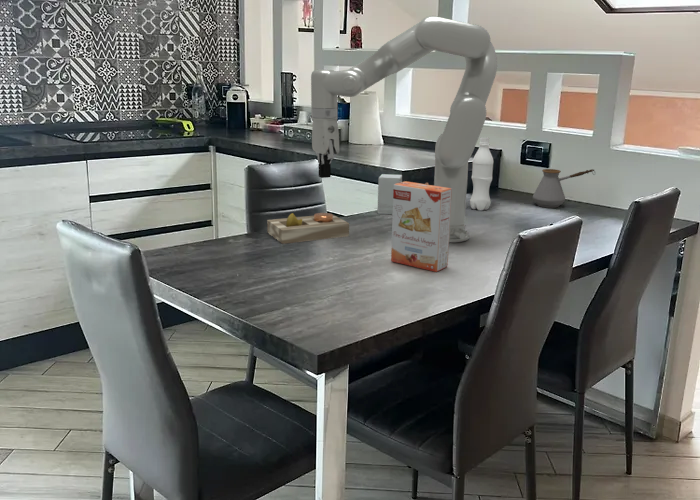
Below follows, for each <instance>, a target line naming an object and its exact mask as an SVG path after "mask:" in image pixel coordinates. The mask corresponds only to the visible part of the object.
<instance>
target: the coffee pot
mask: <svg viewBox="0 0 700 500" xmlns="http://www.w3.org/2000/svg"><path fill="white" fill-rule="evenodd" d="M542 172H543V174H542V175H543V176H542V178H541V180H540V182H539V183H538V186H537V187H536V190H535V191H534V193H533V195H532V200H533V201H534V203H535V204H536V205H537V206H539V207H542V208H551V209H552V208H553V209H554V208H558V207H560V205H562V204H563V203H565V201H566V196H565V193H564V190H563V187H562V183H561V181H564V180H567V179H571V178H576V177H579V176H583V175H585V174H589V173H592V175H593V176H595V173H596V171H595V169H593V168H592V169H589V170H588V169H586V170H584V171H579V172H576V173H573V174H571V175H567V176H563V177H560V176H559V175H560V173H561V170H560V169H554V168H544V169H542ZM559 177H560V178H559Z"/></svg>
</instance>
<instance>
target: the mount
mask: <svg viewBox="0 0 700 500" xmlns="http://www.w3.org/2000/svg"><path fill="white" fill-rule="evenodd" d="M332 215H333V221H332V222H322V223H318V222H316V221H314V215H309V216H306V215H305V216H296V218H297V220H300V219H302V225H301V226H292V227H286V222H287V219H288V217H287V218H286V217H285V218H276V219H275V218H274V219H267V220H266V222H267V223H266V224H267V230H266V233H267V234H268V233H269V234H268V235H269V236H271V237H272V236H273V237H272V238H273V239H275V240H276V239H277V241H278V242H279V243H281V244H282V245H285V244H293V243H294V244H295V243H302V242H311V241H319V240H330V239H337V238H338V239H339V238H346V237H350V223H349V222H347V221H346V220H344V219H342V218H340V217H338V216H336V215H334V214H332Z"/></svg>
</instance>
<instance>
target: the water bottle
mask: <svg viewBox="0 0 700 500" xmlns="http://www.w3.org/2000/svg"><path fill="white" fill-rule="evenodd" d="M478 145H479V146H478V147H479V148H478V149H477V151H476V153H475V154H474V157H473V159H472V171H471V180H472V186H473V190H472V195H471V197H470V199H469V204H470V207H471V209H472V210H477V211H484V210H485V211H487V210H488V209H490V207H491V203H492V202H491V201H492V199H491V198H490V186H491V184H492V181H493V170H494V164H495V163H494V158H493V154H492V153H491V150H490V147H489V146H490V138H489V137H487V136H486V137H484V136H483V137H479V143H478Z"/></svg>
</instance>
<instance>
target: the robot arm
mask: <svg viewBox="0 0 700 500" xmlns="http://www.w3.org/2000/svg"><path fill="white" fill-rule="evenodd" d="M489 33H490V32H488V30H487V29H485V27H483V26H482V25H479V24H478V25H477V24H474V23H468V22H464V21H459V20H454V19H449V18H446V17H442V16H441V17H440V16H436V15H429V16H426V17H424V18H422V19H421V21H419V22H417V23H416V24H414V25H413V26H411V27H409V28H408V29H406V30H405V31H403V32H401V33H400V34H398V35H396V36H394V37H393V38H392V39H389V41H387V42H386V43H384V44H383V45H381V46H380V48H378V49H377V50H376V51H375V52H374V53H373V54H371V55H369V56H367V57H366V58H364V59H363V60H362V61H360V62H358V63H357V64H355V65H353V66H352V67H350V68H349V69H344V70H333V69H316V70H315V69H314V70H313V71H312V72H311V75H310V93H311V94H310V95H311V96H310V97H311V99H310V100H311V102H310V104H311V105H310V106H311V108H310V111H311V113H310V114H311V120H312V126H311V147H312V150H313V151H314V152H315V155H316V156H317V163H318V177H319V178H320V179H326V178H327V179H328V178H331V176H332V175H331V174H332V173H331V172H332V171H331V170H332V169H331V166H332V165H331V164H332V160H334V159H335V155H338V154H339V153H340V133H339V132H340V131H339V124H338V96H340V97H344V98H345V97H347V98H353V97H356V96H358V95H359V94H361V93H362V92H364V91H365V90H367V89H369V88H370V87H372V86H374V85H375V84H377V83H378V82H380V81H382V80H384V79H385V78H387V77H389V76H391V75H394V74H397V73H399V72H400V71H402V70H404V69H405V68H407V67H408V66H410V65H412V64H414V63H415V62H417V61H418V60H421V58H423V57H426V56H427V55H429V54H431V52H433V51H435V52H436V51H437V52H441V53H445V54H449V55H454V56H459V57H464V59H465V70H464V72H463V75H462V79H461V82H460V84H459V87H458V90H457V92H456V95H455V97H454V99H453V101H452V103H451V105H450V109H449V116H448V119H447V120H446V121H447V122H446V124H445V127H444V129H443V132H442V133H440V135H439V136H438V137H437V140H436V142H435V145H434V146H435V149H434V157H435V158H434V177H433V179H434V181H433V185H434V186H439V187H446V188H451V189H452V195H451V214H450V232H449V243H462V242H466V241H468V240H469V239H470V231H466V224H465V220H466V207H467V204H466V203H467V202H466V201H467V189H468V177H469V176H468V175H469V174H468V171H469V160H470V159H471V156H472V155H473V152H474V150H475V148H476V146H477V143H478V140H479V139H480V136H481V132H482V130H483V127H484V125H485V122H486V118H487V107H486V104H487V101H488V98H489V96H490V93H491V89H492V88H493V84H494V82H495V78H496V76H497V75H496V74H497V72H498V71H497V69H498V57H497V53H496V49H495V47H494V45H493V43H492V42H491V36H490V34H489ZM334 154H335V155H334Z"/></svg>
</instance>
